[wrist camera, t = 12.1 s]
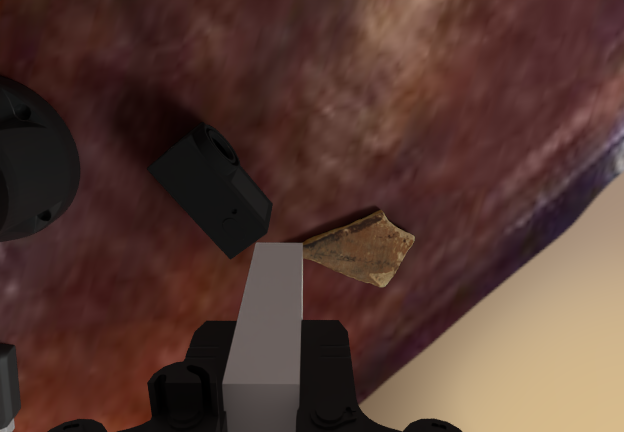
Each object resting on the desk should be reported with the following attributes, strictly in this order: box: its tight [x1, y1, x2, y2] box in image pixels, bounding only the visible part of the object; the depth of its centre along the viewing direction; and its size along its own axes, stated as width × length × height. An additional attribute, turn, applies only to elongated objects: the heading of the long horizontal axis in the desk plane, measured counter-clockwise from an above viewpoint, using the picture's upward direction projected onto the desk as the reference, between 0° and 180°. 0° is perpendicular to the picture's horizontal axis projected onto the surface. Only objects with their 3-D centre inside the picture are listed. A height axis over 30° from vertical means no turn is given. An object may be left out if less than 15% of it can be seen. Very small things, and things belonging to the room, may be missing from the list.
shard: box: [302, 210, 415, 287], centre depth 48 cm, size 11×8×2 cm
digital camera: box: [147, 122, 273, 259], centre depth 43 cm, size 10×5×7 cm, turn 37°
